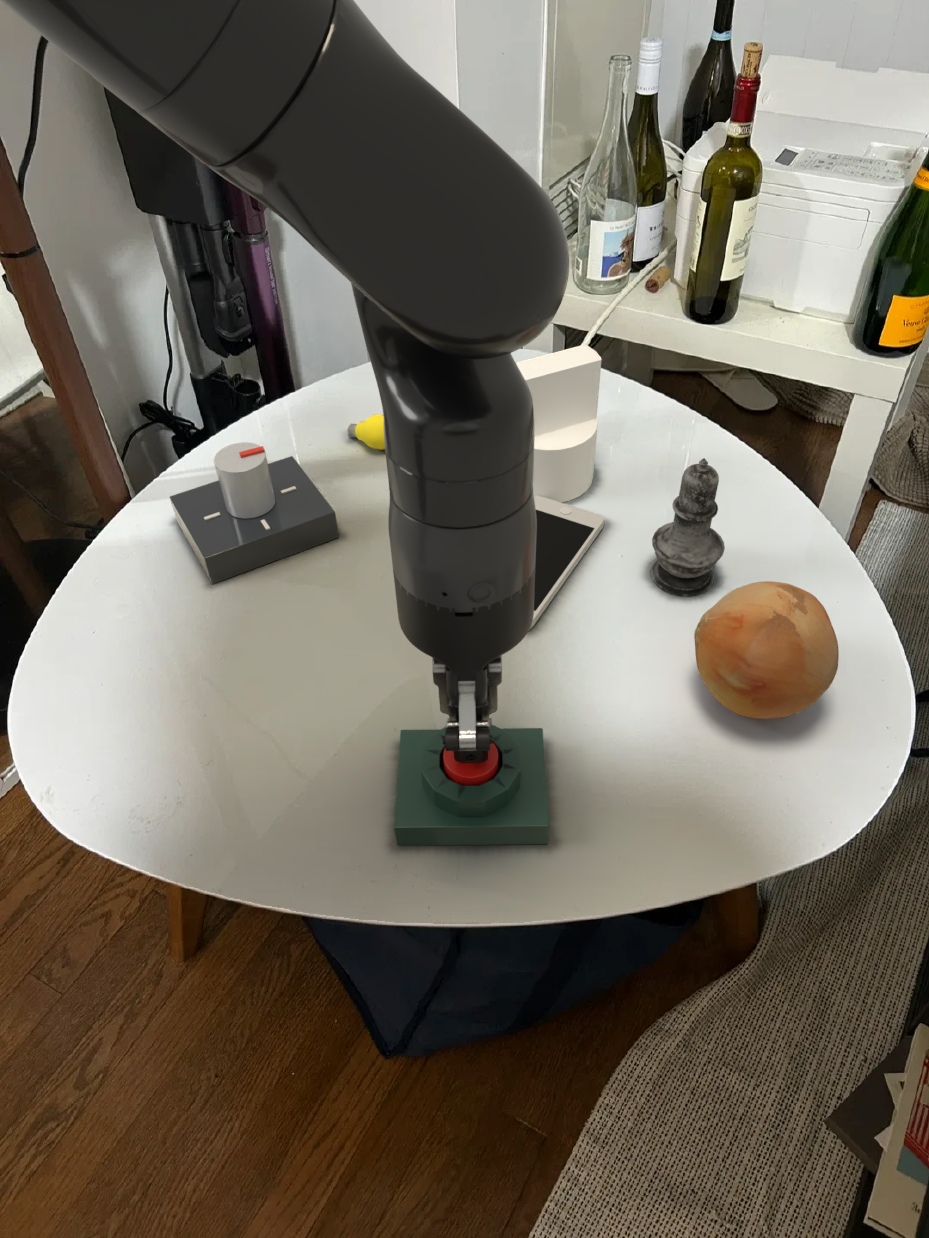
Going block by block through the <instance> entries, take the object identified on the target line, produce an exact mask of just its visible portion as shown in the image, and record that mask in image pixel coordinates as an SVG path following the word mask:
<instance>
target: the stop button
mask: <svg viewBox="0 0 929 1238" xmlns="http://www.w3.org/2000/svg"><path fill="white" fill-rule="evenodd" d="M443 759H444V773H445V776H446V777H447V779H449V780H451V781H453V782H455V783H457V784H459V785H461V786H480V785H482V784H484V783H486V782H488V781H490V780H492V779H494V778H495V777H496V775H497V774H498V751H497V748H496V746H495V744H494V743H493V744H490V751H488V759H487V761H485V762H482V763H460V762H457V761H456V760H455V759H454V751H446V748H445V750H444V754H443Z"/></svg>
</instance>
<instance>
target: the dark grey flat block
mask: <svg viewBox="0 0 929 1238" xmlns="http://www.w3.org/2000/svg"><path fill="white" fill-rule="evenodd" d="M268 466H269V471H270V475H271V480H272V485H273V489H274V494H275V499H276V501H275V505H274V506H273V508H272V509H271V510H270V511H269V512H267V513H266V514H264V515H261V516H259V517H255V518H248V519H244V518H238V517H235V516H232V515H231V514H230V513H229V512H228V511H227V509H226V506H225V502H224V498H223V494H222V490H221V487H220V483H219V479H217V480H215V481H212V482H210V483H206V484H204V485H200V486H197V487H194V488H191V489H188V490H185V491H182V492H179V493H176V494H173V495H170V496H169V500H170V503H171V507H172V510H173V512H174V517H175V519H176V522H177V524H178V525H179V528H180V529H181V531H182V533H183V535H184V537H185V539H186V540H187V542H188V544H189V545H190V548H191V549H192V552H194V554H195V556H196V558H197V560H198V561H199V563H200V566H201V567H202V569H203V571H204V572H205V574H206V576H207V578H208V579H209V581H210V583H211V584H212V585H215V584H217V583H220V582H223V581H225V580H228V579H231V578H233V577H235V576H239V575H242V574H244V573H246V572H249V571H252V570H255V569H258V568H260V567H263V566H265V565H268V564H272V563H274V562H276V561H279V560H282V559H284V558H287V557H290V556H292V555H296V554H299V553H301V552H303V551H307V550H309V549H311V548H314V547H318V546H320V545H322V544H325V543H328V542H331V541H333V540H336V539H338V538H340V534H339V533H340V532H339V528H338V522H337V515H336V511H335V510H334V508H333V507H332V505H331V504H330V503H329V502H328V501H327V499H326V498H325V497H324V495H323V493H321V491H320V490H319V488H317V486H316V485H315V484H314V482H313V481H312V480H311V478H310V476H308V474H307V473H306V472H305V470H304V469H303V468H302V467H301V465H300V464H299V462H297V460H296V459H295V457H294V456H293V455H290V456H288V457H284V458H281V459H278V460H275V461H272V462H270V463H268Z"/></svg>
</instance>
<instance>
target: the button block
mask: <svg viewBox="0 0 929 1238" xmlns="http://www.w3.org/2000/svg"><path fill="white" fill-rule="evenodd" d="M445 730H446V726H445V727H443V728H440V729H439V728H438V729H435V728H434V729H433V728H432V729H431V728H430V729H429V728H428V729H401V730H400V732H399V748H398V764H397V777H396V794H395V807H394V821H393V830H394V837H395V843H396V846H402V847H403V846H479V845H480V846H484V845H485V846H486V845H487V846H488V845H491V846H492V845H548V844H549V838H550V837H549V836H550V815H549V814H550V812H549V801H548V785H547V771H546V770H547V769H546V758H545V743H544V742H545V741H544V729H543V727H515V728H513V727H511V728H510V727H508V728H504V727H503V728H501V727H498V726H496V725H495V724H492V726H490V734H492V735H493V743H494V744H495V746H496V748H497V751H498V774H497V775H496V777H495V778H494V779H492V780H490V781H488V782H486V783H484V784H482V785H480V786H461V785H459V784H457V783H455V782H453V781H451V780H449V779H447V777H446V776H445V773H444V759H443V754H444V750H445V748H446V747H445V745H443V735H445Z"/></svg>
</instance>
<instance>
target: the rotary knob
mask: <svg viewBox="0 0 929 1238" xmlns="http://www.w3.org/2000/svg"><path fill="white" fill-rule="evenodd" d="M268 462H269V461H268V457H267V453H266V449H265V448H264V446H263V445H260V444H257V443H255V442H248V441H247V442H245V441H244V442H236V443H232V444H229V445H227V446H224V447H223V448H221V449H220V450H218V451H217V452H216V454H215V455H214V458H213V464H214V469H215V471H216V475H217V478H218V479H217V480H219V483H220V487H221V490H222V494H223V498H224V502H225V506H226V509H227V511H228V512H229V513H230V514H231V515H232V516H235V517H238V518H244V519H248V518H255V517H259V516H261V515H264V514H266V513H267V512H269V511H270V510H271V509H272V508H273V506H274V505H275V501H276V499H275V494H274V489H273V485H272V480H271V475H270V471H269V466H268V464H269V463H268Z"/></svg>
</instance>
